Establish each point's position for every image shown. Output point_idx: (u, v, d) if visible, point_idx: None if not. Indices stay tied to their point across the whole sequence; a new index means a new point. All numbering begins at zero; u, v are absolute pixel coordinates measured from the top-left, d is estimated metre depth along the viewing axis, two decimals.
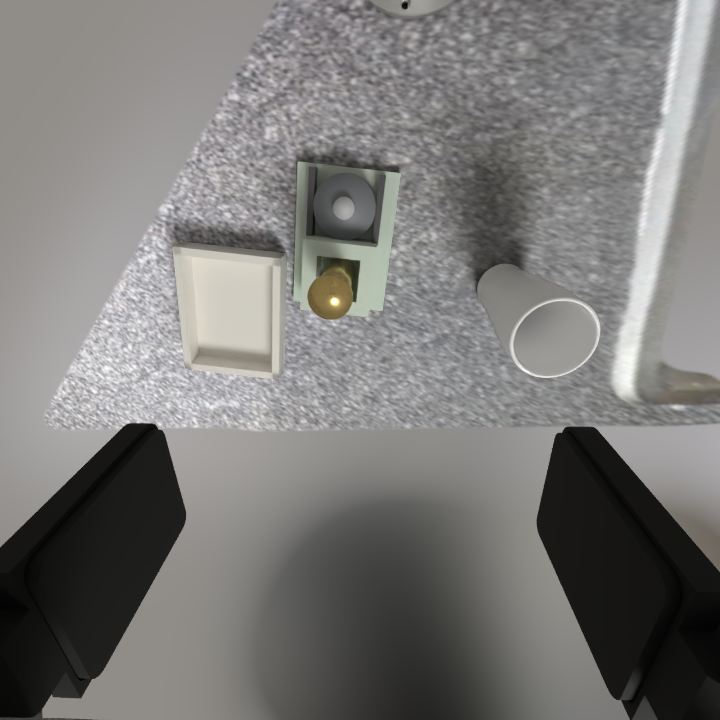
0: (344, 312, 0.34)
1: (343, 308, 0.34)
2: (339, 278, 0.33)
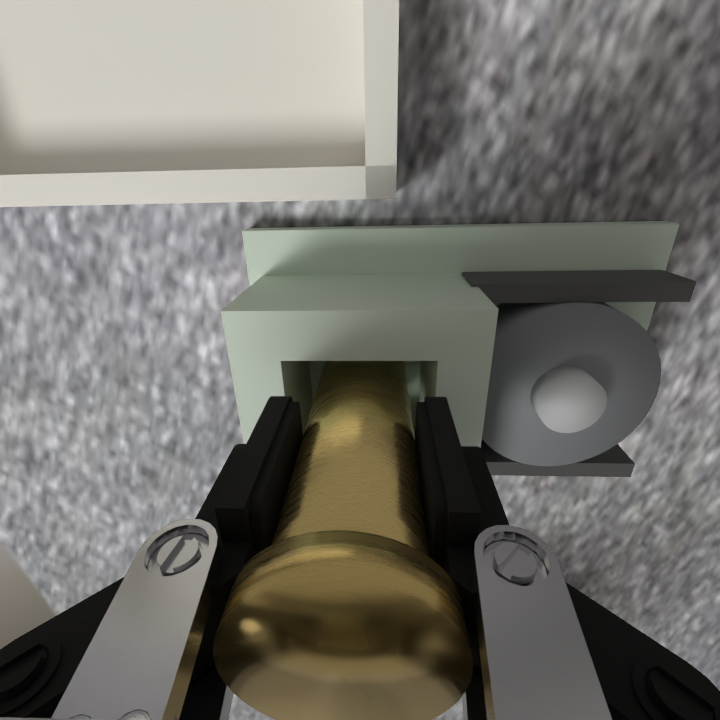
0: (276, 714, 0.06)
1: (296, 710, 0.06)
2: (456, 692, 0.06)
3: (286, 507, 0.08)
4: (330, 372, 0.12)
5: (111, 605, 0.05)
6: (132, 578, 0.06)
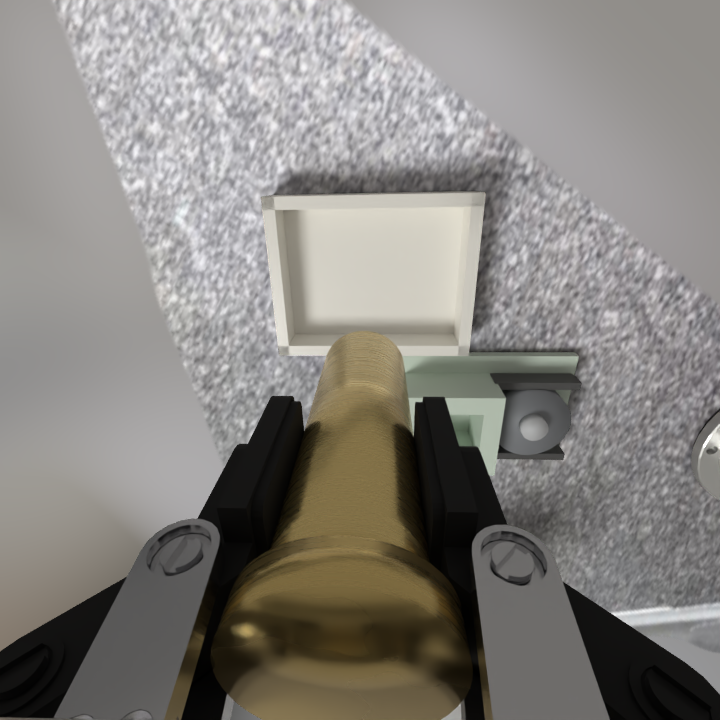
0: None
1: (295, 716, 0.06)
2: (456, 697, 0.06)
3: (285, 510, 0.07)
4: (329, 374, 0.12)
5: (114, 604, 0.05)
6: (135, 577, 0.06)
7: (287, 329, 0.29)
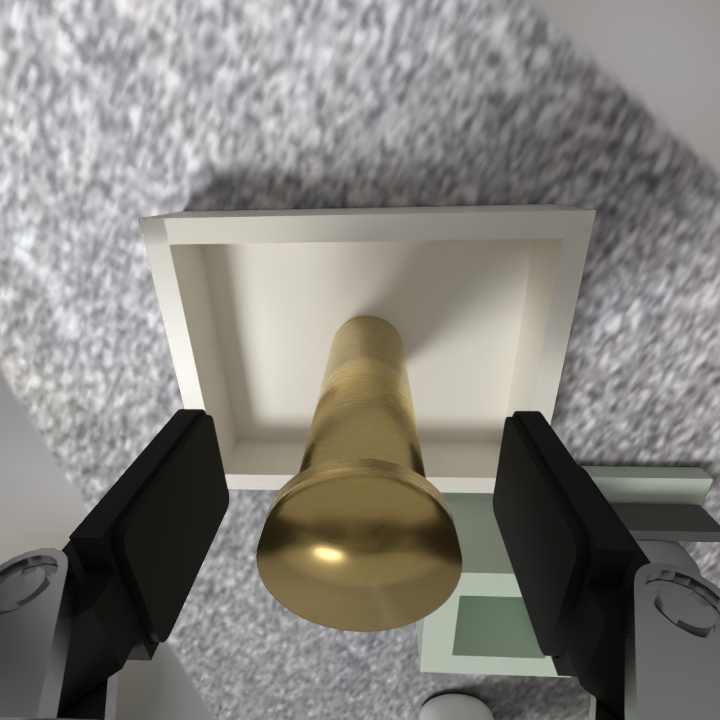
0: (304, 613, 0.08)
1: (321, 609, 0.08)
2: (449, 589, 0.08)
3: (308, 453, 0.09)
4: (338, 351, 0.14)
5: None
6: None
7: None
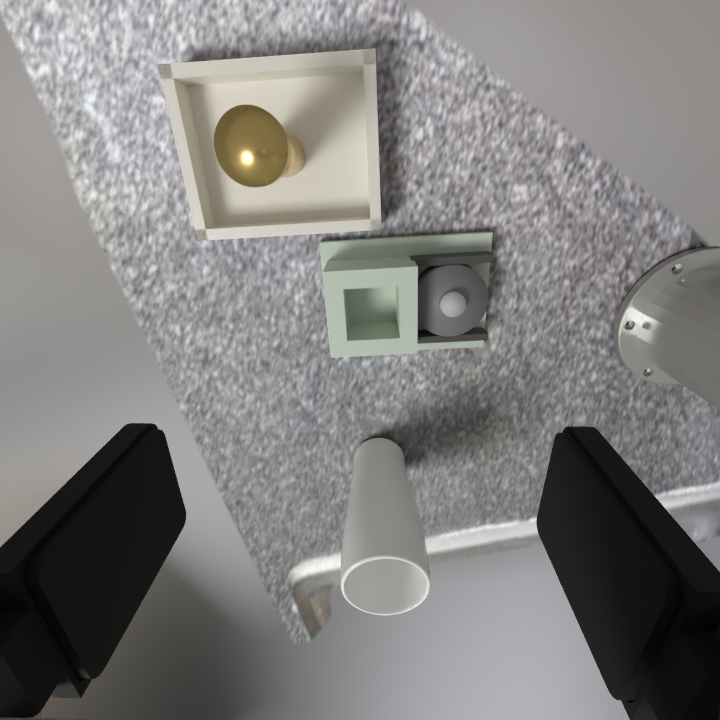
0: (234, 177, 0.21)
1: (240, 174, 0.21)
2: (285, 159, 0.21)
3: None
4: None
5: None
6: None
7: (202, 211, 0.29)
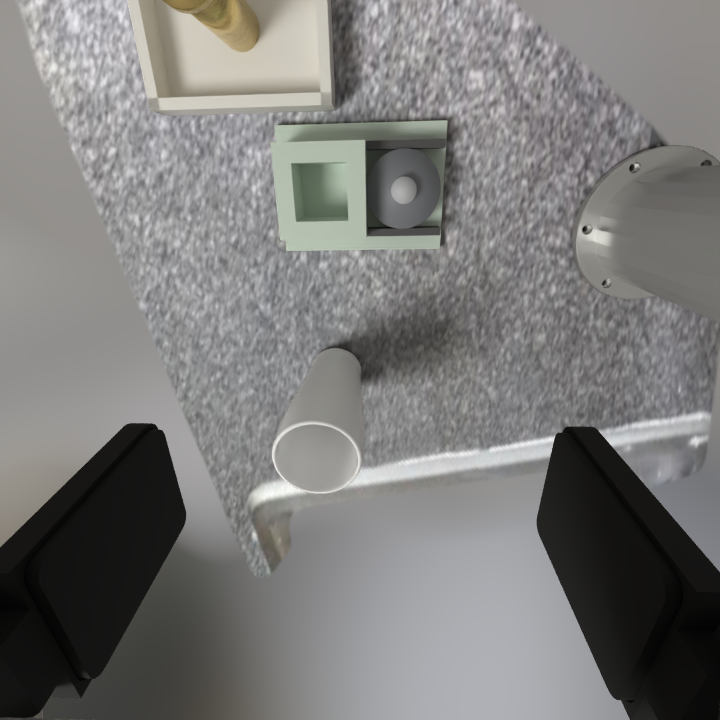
0: None
1: None
2: None
3: None
4: None
5: None
6: None
7: (155, 79, 0.30)
